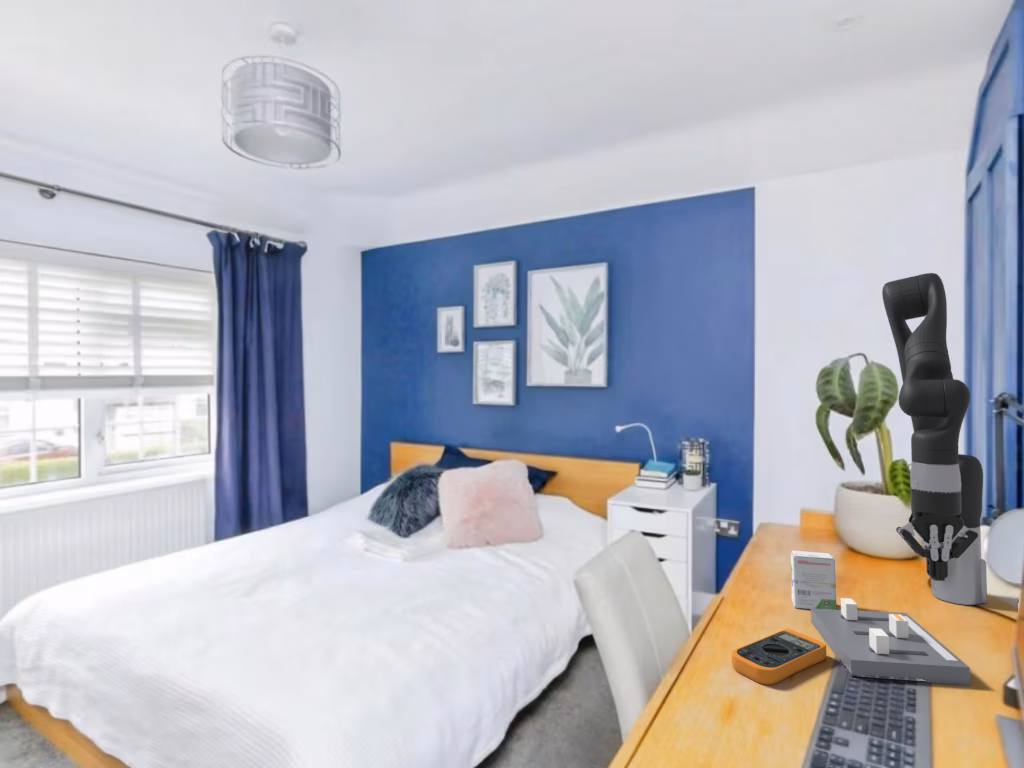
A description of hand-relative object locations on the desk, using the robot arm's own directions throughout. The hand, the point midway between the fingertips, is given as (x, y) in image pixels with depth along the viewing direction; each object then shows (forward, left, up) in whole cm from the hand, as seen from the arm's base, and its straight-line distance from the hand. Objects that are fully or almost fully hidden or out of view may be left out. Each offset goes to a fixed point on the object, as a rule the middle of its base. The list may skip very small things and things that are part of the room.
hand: (937, 579), depth 104 cm
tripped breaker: (+7, 0, -11) cm, 13 cm away
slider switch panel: (+10, 0, -14) cm, 17 cm away
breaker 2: (+13, +7, -11) cm, 18 cm away
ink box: (+16, -20, -14) cm, 29 cm away
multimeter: (+30, +8, -15) cm, 34 cm away
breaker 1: (+13, -7, -11) cm, 18 cm away
